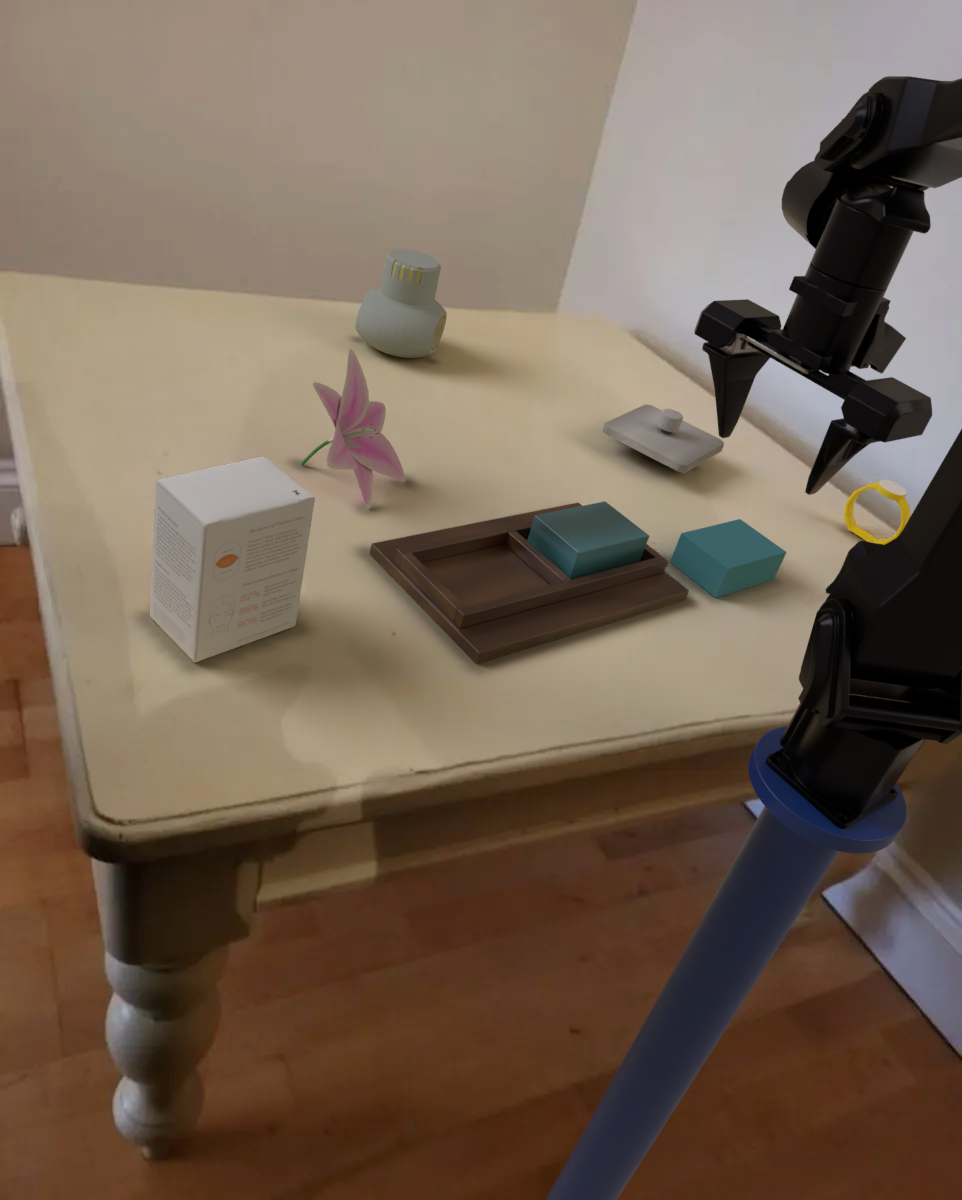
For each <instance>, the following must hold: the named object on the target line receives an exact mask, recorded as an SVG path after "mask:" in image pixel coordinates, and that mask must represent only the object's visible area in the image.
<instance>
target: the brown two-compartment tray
mask: <svg viewBox="0 0 962 1200" xmlns="http://www.w3.org/2000/svg"><path fill="white" fill-rule="evenodd" d="M649 539H650V534H648V533H647V532H645V531H644V529H642V528H640V527H639V526H638V525H637V524H635V523H634V522H633V521H632V520H630V519H629V518H628V517H626V516H625V515H624V514H622V513H621V512H620V511H619V510H618V509H616V508H615V507H614V506H612V505H611V504H610V503H608V502H607V501H600V502H595V503H589V504H585V505H582V504H581V503H580V502H574V503H569V504H563V505H559V506H554V507H549V508H544V509H539V510H532V511H528V512H523V513H517V514H513V515H508V516H502V517H499V518H498V517H497V518H493V519H487V520H483V521H477V522H473V523H468V524H463V525H457V526H453V527H448V528H443V529H438V530H432V531H427V532H423V533H418V534H412V535H408V536H402V537H397V538H392V539H388V540H387V539H386V540H382V541H377V542H372V543H371V544H370V548H369V555H370V556H371V557H372V558H373V559H374V561H376V562H377V563H378V564H379V566H381V567H382V568H383V570H384V571H385V572H386V573H387V574H388V575H389V576H390V577H391V578H392V579H393V580H394V581H395V582H396V583H397V584H398V585H399V586H400V587H401V588H402V589H403V590H404V591H405V592H406V594H408V595H409V596H410V597H411V598H412V600H414V601H415V603H416V604H418V606H419V607H420V608H421V609H423V611H424V612H426V614H427V615H428V616H429V617H430V618H431V619H432V620H433V621H434V622H435V623H436V625H438V626H439V627H440V628H441V629H442V630H443V631H444V633H446V635H448V636H449V637H450V639H451V640H452V641H453V642H454V643H455V644H456V645H457V646H458V647H459V648H460V649H461V650H462V651H463V652H464V653H465V654H466V655H467V656H468V657H469V658H470V659H471V660H472V661H473V662H474V663H475V664H480V663H484V662H486V661H490V660H492V659H497V658H500V657H503V656H506V655H510V654H514V653H517V652H519V651H523V650H526V649H530V648H532V647H537V646H539V645H542V644H546V643H549V642H552V641H556V640H559V639H562V638H565V637H569V636H572V635H575V634H578V633H582V632H585V631H588V630H592V629H595V628H598V627H602V626H605V625H608V624H611V623H615V622H618V621H621V620H625V619H627V618H631V617H635V616H637V615H642V614H644V613H648V612H651V611H654V610H659V609H661V608H663V607H667V606H670V605H673V604H677V603H680V602H683V601H686V599H687V597H688V595H689V592H690V590H689V589H688V588H687V587H685V586H684V585H683V584H682V583H680V582H679V581H677V580H676V578H674V577H673V576H671V575H670V574H669V573H668V572H666V569H667V566H668V563H669V560H667V558H665V556H662V554H660V552H658V551H657V550H656V549H654V548H653V547H651V546H650V545H649V544H648V541H649Z"/></svg>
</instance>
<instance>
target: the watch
mask: <svg viewBox="0 0 962 1200" xmlns="http://www.w3.org/2000/svg"><path fill="white" fill-rule="evenodd" d="M867 490H876V491H877V492H878V493H879V495H881V496H883V497H884V498H887V499H889V500H891V501H895V502H896V504H897V506H898V508H899V511H900V525H899V527H898V529H897V531H896V532H895V534H894V535H892V536H890V537H889V538H880V539H879V538H876V537H875V536H873V535H872V534H870V533H869V532H868V531H866V530H865V529H863V528H861V526H859V525H857V522H856V519H855V516H854V509H855V502H856V501H857V499H858V498H859V497H860V495H861V494H862V493H863V492H865V491H867ZM906 496H907V490H906V489H905V488H904V487H903V486H901V484H899V483H896V482H895V481H892V480H889V479H880V480H878V482H872V483H869V484H866V485H865V486H862V487H860V488H858V489H856V490H855V491H853V492H852V493H851V495H850V496H849V498H848V499H847V500H846V503H845V506H844V513H843V516H844V517H843V518H844V521H845V522H844V523H845V524H846V527H847V530H848V532H851V533H853V534H855V535H856V536H858V537H859V538H861V539H862V540H863V541H866V542H872V543H877V544H883V545H885V544H887V543H889V542H890V541H892V540H894V539H895V538H897V537H898V536H899V534H900V533H901V532H902V530H903V529H904V527H905V525H906V524H907V522H908V520H909V518H910V517H911V507H910V503H908V501H907V498H906Z"/></svg>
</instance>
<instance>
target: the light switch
mask: <svg viewBox="0 0 962 1200" xmlns="http://www.w3.org/2000/svg"><path fill="white" fill-rule="evenodd" d="M683 419H684V416H683V414H682V413H680V412H679V411H678V410H675V409H672V408H664V409H660V408H658V407H656V406H654V405H651V404H647V403H646V404H643V405H640V406H638V407H636V408H634V409H632V410H629V411H628V412H625V413H623V414H621V415H619V416H617V417H615V418H613V419H611V420H608V421H606V422H604V424H603V428H602V432H603V433H604V434H605V435H607V436H609V437H611V438H612V439H614V440H616V441H618V442H620V443H622V444H624V445H626V446H628V447H629V448H631V449H633V450H636V452H637V453H639V454H641V455H643V456H645V457H647V458H649V459H651V460H653V461H655V462H657V463H659V464H660V465H663V466H665V467H666V468H668V469H672V470H674V471H675V472H678V473H687V472H689V471H691V470H693V469H695V468H696V467H697V466H699V465H702V464H703V463H704V462H706V461H708V460H709V459H711V458H713V457H714V456H716V455H718V454H719V453H721V452H722V451H723V448H724V446H725V442H724V441H723V440H722V438H719V437H717V436H715V435H713V434H711V433H709V432H707V431H705V430H703V429H701V428H699V427H697V426H695V425H693V424H692V423H689V422H686V420H683Z"/></svg>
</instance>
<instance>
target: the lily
mask: <svg viewBox="0 0 962 1200" xmlns="http://www.w3.org/2000/svg"><path fill="white" fill-rule="evenodd" d="M312 385H313V389H314V391H315V392H316V394H317V396H318V398H319V400H320V402H321V403H322V405H323V407H324V409H325V410H326V412H327V414H328V416H329V418H330V420H331V423H332V424H333V426H334V433H333V435H332V436H331V437H330V438H328V439H327V440H325V441H324V442H322V443H321V444H319V445H318V446H316V447H315V448H314V449H313V450H312V451H311V452H310V453H309V454H308V455H306V457H305V458H304V459H303V460H302V461H301V462H300V466H302V467H303V466H304V465H306V463H307V462H308V461H309V460H311V458H313V456H314V455H316V453H318V451H320V450H321V449H323V448H324V447H325V446H327V445H329V444H330V447H329V449H328V454H327V457H326V466H328V468H330V469H332V470H338V471H339V470H340V471H345V470H346V471H347V470H353V472H354V476H355V479H356V481H357V484H358V488H359V490H360V493H361V496H362V499H363V503H364V506H365V508H366V509H367V510H368V509H369V508H370V505H371V502H372V497H373V489H374V473H373V472H375V473H377V474H379V475H382V476H385V477H388V478H390V479H392V480H395V481H398V482H401V483H402V482H403V483H404V482H405V481H406V475H405V471H404V468H403V466H402V463H401V461H400V458H399V456H398V454H397V452H396V450H395V448H394V446H393V445H392V443H391V441H390V440H389V439H388V438H387V437H386V436H385V435H384V434H383V433H382V430H383V427H384V424H385V420H386V413H387V409H386V405H385V404H384V403H383V402H382V401H381V402H380V401H377V400H374V401H373V400H370V394H369V393H370V392H369V387H368V383H367V380H366V377H365V373H364V371H363V368H362V365H361V363H360V362H359V359H358V356H357V354H356V353H355V351H354V350H353V349H352V348H349V350H348V355H347V365H346V375H345V381H344V385H343V389H342V393H341V395H340V393H339V392H338V391H337V390H335V389H334V388H331V387H330V386H329V385H326V384H324V383H320V382H316V381H315V382H313V383H312Z"/></svg>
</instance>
